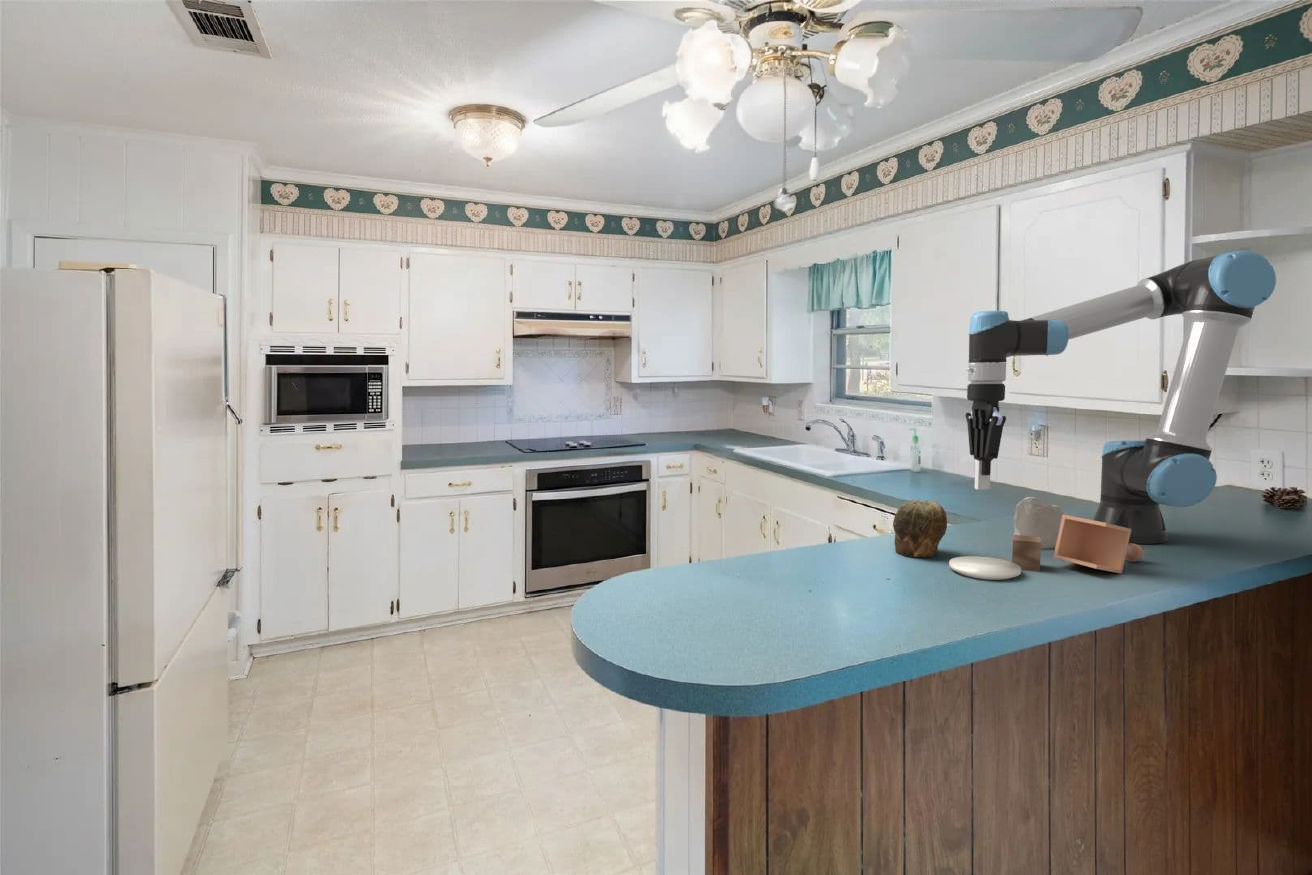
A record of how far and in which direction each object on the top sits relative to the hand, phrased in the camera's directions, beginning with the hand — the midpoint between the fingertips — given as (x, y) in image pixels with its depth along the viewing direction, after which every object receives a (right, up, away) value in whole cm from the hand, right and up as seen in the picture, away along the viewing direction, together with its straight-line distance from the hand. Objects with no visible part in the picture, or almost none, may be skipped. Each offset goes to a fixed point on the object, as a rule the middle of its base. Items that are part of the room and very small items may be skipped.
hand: (982, 488), depth 155 cm
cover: (+11, -9, -17) cm, 22 cm away
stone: (+14, -14, +4) cm, 20 cm away
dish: (-7, -15, -15) cm, 23 cm away
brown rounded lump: (-15, -14, -1) cm, 20 cm away
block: (+3, -15, -13) cm, 20 cm away
